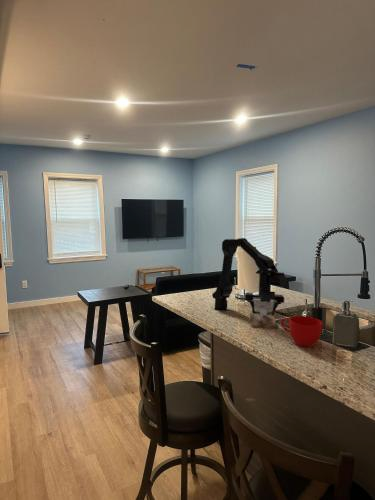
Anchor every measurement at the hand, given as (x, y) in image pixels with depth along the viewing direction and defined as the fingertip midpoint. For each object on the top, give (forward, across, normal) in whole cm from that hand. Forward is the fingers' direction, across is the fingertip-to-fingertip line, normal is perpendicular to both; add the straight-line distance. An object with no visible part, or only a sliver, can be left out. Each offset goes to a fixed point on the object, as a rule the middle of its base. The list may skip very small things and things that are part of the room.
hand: (263, 314), depth 168 cm
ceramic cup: (+4, +13, -26) cm, 29 cm away
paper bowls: (+4, +1, +20) cm, 20 cm away
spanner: (+2, 0, 0) cm, 2 cm away
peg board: (+4, 0, 0) cm, 4 cm away
